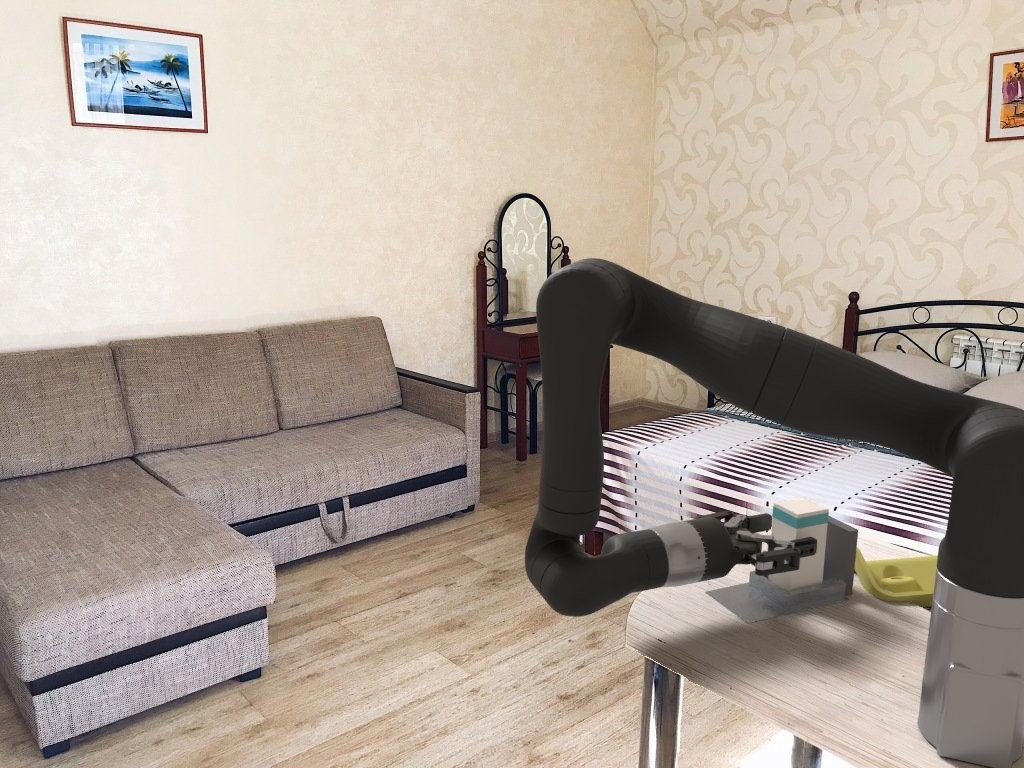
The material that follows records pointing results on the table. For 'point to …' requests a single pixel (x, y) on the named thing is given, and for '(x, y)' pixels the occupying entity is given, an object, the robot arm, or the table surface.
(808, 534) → the block
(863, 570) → the plastic component
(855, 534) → the end stop
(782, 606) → the rail plate
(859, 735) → the table surface
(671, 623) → the table surface
